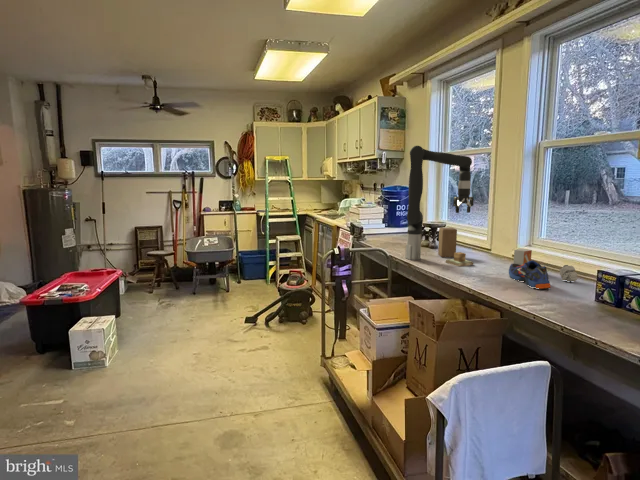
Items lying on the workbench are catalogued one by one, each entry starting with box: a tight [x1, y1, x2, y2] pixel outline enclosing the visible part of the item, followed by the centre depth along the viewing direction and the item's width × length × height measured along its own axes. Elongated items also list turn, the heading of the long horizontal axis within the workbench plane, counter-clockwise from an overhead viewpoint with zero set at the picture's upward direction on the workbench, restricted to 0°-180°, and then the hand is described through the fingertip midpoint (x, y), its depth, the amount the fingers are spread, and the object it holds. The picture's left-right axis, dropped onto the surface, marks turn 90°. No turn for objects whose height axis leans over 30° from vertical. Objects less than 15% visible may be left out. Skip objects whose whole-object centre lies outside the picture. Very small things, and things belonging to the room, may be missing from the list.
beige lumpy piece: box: [559, 264, 578, 282], centre depth 222 cm, size 6×7×10 cm
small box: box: [512, 248, 532, 265], centre depth 245 cm, size 8×6×13 cm
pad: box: [445, 258, 474, 267], centre depth 267 cm, size 12×12×2 cm
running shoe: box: [508, 260, 551, 290], centre depth 219 cm, size 12×32×13 cm, turn 5°
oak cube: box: [453, 251, 467, 262], centre depth 266 cm, size 5×5×5 cm
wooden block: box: [437, 227, 458, 258], centre depth 290 cm, size 10×10×20 cm
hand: (462, 212), depth 272 cm, fingers open, 8 cm apart
